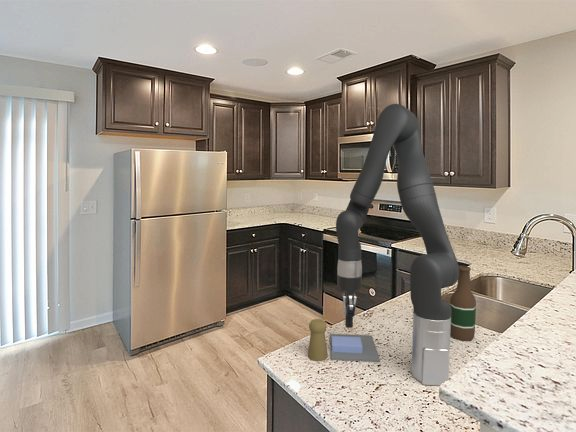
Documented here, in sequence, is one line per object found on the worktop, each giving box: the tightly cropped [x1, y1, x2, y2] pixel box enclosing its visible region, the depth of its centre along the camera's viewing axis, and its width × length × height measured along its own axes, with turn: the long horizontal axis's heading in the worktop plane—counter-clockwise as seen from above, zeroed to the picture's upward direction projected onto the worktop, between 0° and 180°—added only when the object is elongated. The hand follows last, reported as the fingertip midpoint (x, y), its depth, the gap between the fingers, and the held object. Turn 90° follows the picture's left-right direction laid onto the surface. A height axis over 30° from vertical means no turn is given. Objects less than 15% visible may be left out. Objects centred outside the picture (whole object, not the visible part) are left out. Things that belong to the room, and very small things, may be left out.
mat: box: [329, 333, 381, 363], centre depth 107 cm, size 16×14×1 cm
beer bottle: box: [449, 265, 477, 342], centre depth 114 cm, size 8×8×24 cm
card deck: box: [332, 336, 362, 353], centre depth 106 cm, size 2×9×6 cm
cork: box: [307, 318, 329, 362], centre depth 102 cm, size 6×6×11 cm
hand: (349, 326), depth 108 cm, fingers closed
